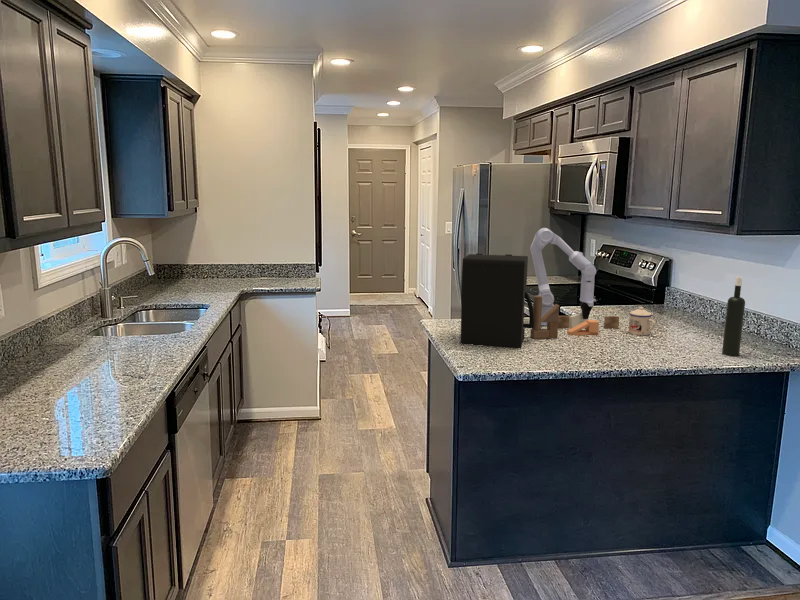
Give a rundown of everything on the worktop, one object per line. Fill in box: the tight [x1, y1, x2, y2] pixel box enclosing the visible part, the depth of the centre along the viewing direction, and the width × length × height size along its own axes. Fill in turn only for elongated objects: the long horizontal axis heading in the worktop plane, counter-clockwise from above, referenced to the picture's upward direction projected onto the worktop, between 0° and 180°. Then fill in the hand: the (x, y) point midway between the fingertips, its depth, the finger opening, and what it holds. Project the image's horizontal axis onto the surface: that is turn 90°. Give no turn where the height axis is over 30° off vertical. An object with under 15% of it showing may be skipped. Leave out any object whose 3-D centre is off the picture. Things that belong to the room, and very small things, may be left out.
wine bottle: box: [721, 275, 746, 357], centre depth 226 cm, size 6×6×30 cm
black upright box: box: [460, 253, 534, 350], centre depth 244 cm, size 28×20×35 cm
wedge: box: [566, 319, 600, 337], centre depth 258 cm, size 12×4×6 cm, turn 89°
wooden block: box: [529, 294, 560, 340], centre depth 251 cm, size 4×11×18 cm, turn 98°
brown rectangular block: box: [558, 315, 620, 330], centre depth 269 cm, size 28×2×6 cm, turn 89°
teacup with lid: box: [628, 306, 656, 336], centre depth 258 cm, size 12×9×12 cm
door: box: [569, 312, 588, 329], centre depth 275 cm, size 15×1×5 cm, turn 138°
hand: (585, 319), depth 275 cm, fingers closed
